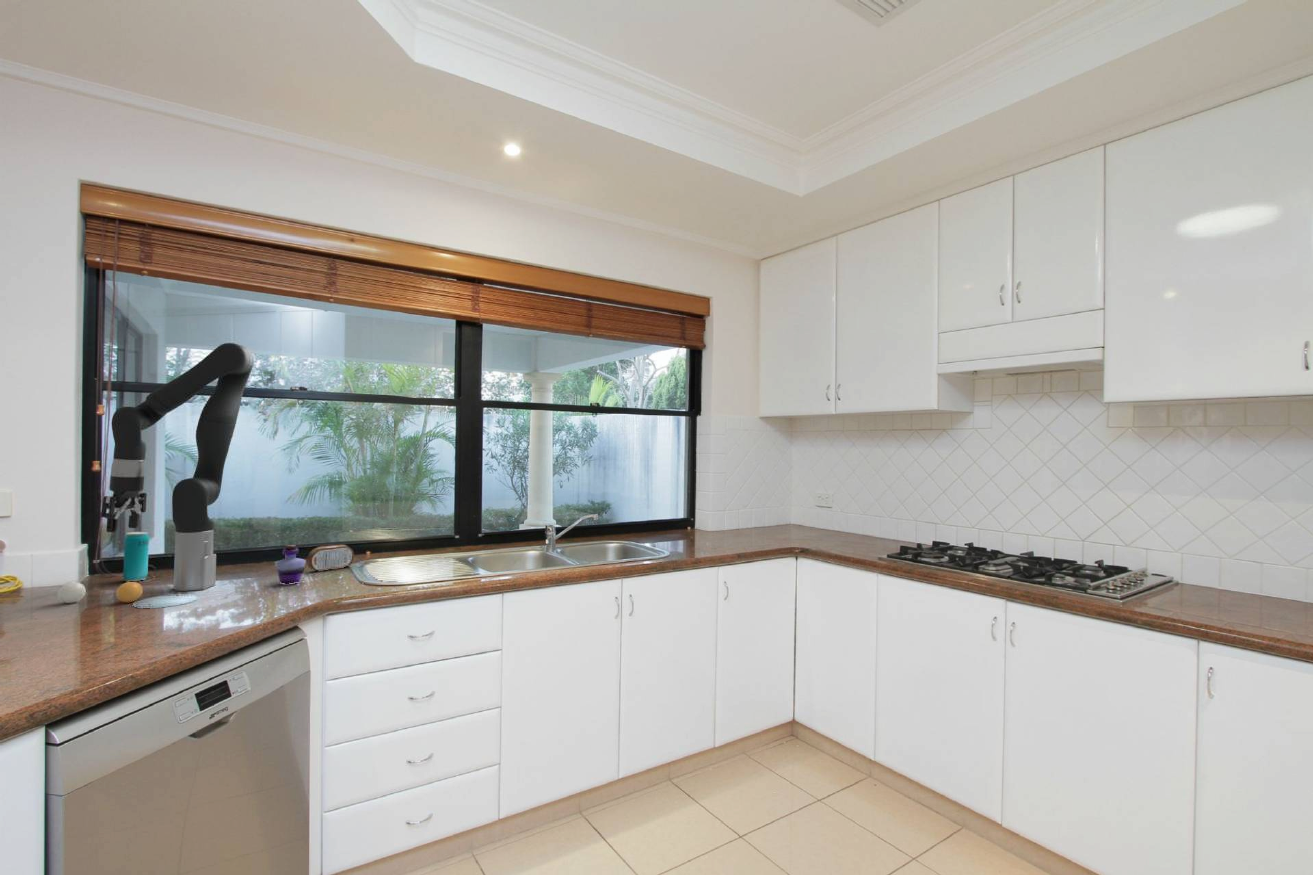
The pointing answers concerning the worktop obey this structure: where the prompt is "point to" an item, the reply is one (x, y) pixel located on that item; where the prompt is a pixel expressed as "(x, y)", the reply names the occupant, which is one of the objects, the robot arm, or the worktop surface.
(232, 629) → the worktop surface
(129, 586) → the orange ball
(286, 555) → the potion bottle
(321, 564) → the tin
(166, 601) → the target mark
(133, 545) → the beverage can
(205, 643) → the worktop surface
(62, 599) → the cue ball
